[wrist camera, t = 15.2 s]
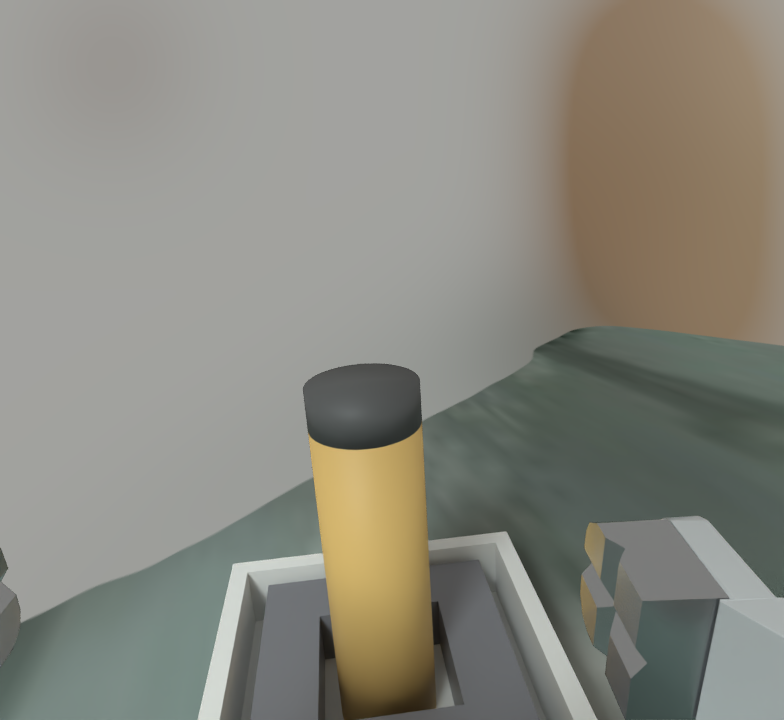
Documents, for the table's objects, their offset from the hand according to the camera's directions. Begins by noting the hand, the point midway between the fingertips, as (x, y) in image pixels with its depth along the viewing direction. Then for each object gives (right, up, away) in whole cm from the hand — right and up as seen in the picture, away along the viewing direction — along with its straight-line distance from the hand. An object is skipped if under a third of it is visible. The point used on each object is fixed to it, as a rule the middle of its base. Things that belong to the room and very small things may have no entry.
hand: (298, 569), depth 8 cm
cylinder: (+1, -12, +17) cm, 20 cm away
